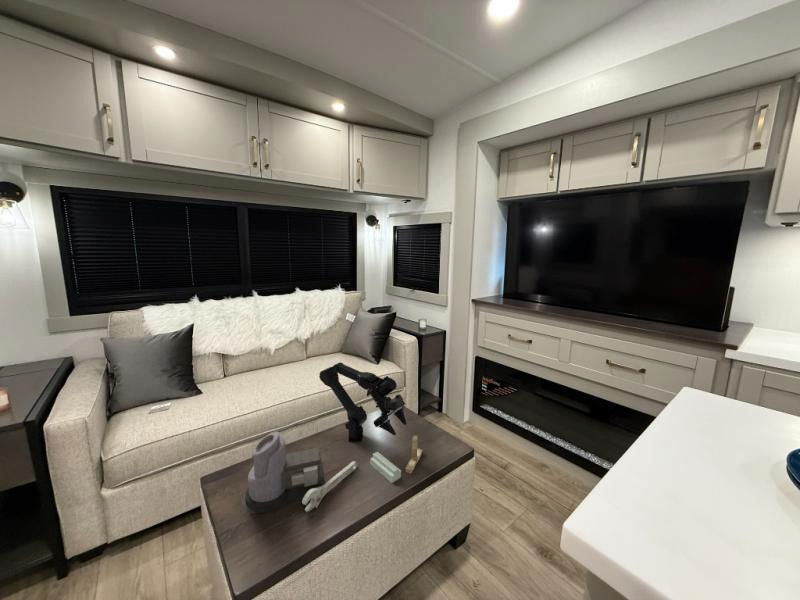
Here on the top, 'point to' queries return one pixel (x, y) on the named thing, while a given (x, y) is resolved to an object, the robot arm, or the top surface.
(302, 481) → the juicer
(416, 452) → the rubber stamp
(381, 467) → the ridge
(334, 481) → the wrench
